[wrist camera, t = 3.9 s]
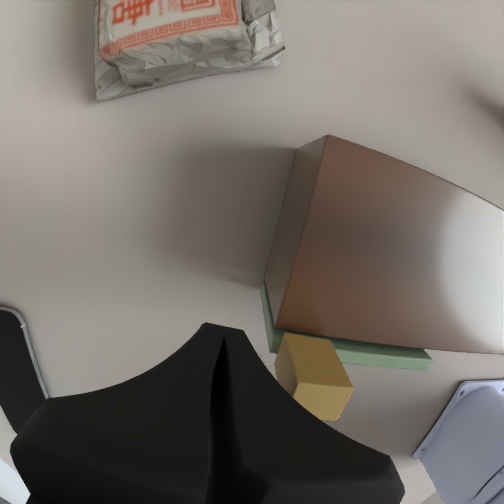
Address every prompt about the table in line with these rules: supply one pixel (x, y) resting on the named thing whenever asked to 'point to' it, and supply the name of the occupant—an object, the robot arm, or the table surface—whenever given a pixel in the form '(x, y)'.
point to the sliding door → (328, 364)
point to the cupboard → (385, 254)
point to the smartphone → (18, 371)
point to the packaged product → (180, 41)
